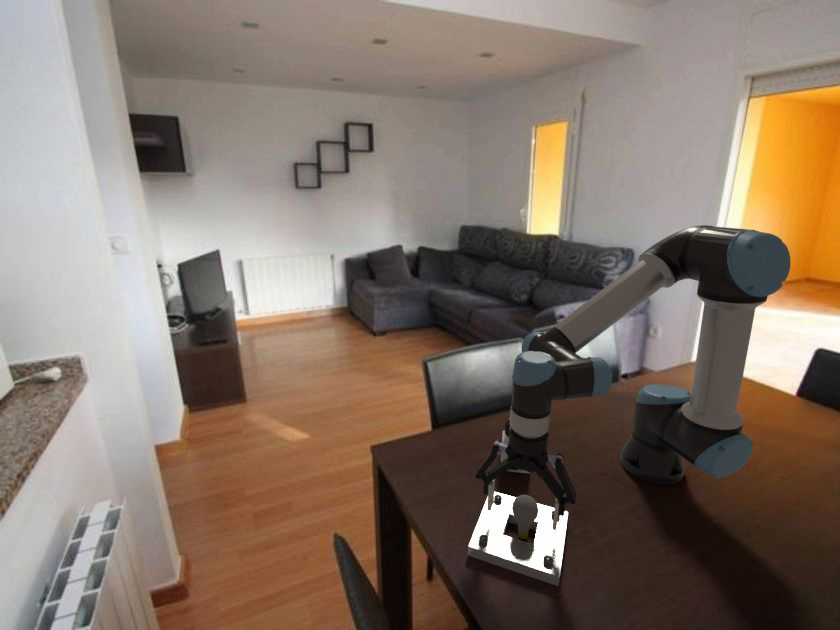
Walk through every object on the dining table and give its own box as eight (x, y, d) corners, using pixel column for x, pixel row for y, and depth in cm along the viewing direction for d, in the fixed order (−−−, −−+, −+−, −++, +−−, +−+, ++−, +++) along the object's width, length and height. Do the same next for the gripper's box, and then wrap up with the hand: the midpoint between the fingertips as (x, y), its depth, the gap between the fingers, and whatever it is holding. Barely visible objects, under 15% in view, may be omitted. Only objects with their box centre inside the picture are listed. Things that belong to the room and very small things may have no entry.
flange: (567, 520, 97) (568, 509, 96) (558, 586, 81) (560, 573, 80) (489, 498, 104) (490, 487, 103) (467, 555, 88) (468, 543, 87)
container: (530, 474, 112) (533, 431, 108) (500, 470, 114) (503, 428, 110) (529, 456, 119) (532, 415, 116) (501, 453, 121) (503, 413, 117)
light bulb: (506, 529, 95) (509, 489, 92) (530, 527, 95) (534, 488, 93) (514, 547, 89) (517, 506, 87) (539, 546, 90) (543, 505, 87)
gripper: (597, 432, 83) (585, 520, 89) (473, 407, 92) (470, 488, 99) (595, 453, 76) (583, 547, 83) (462, 424, 86) (460, 510, 92)
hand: (521, 515), depth 91 cm, fingers open, 13 cm apart
